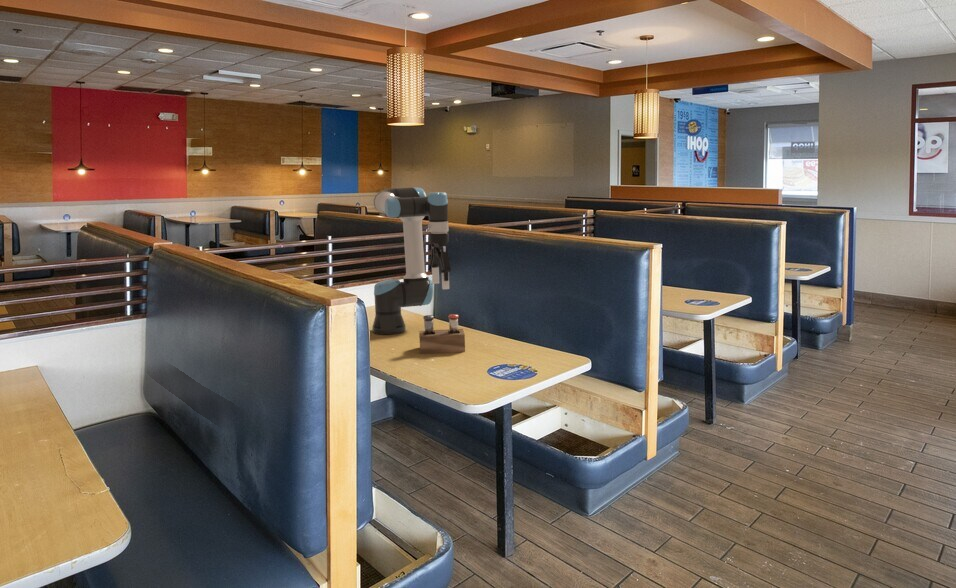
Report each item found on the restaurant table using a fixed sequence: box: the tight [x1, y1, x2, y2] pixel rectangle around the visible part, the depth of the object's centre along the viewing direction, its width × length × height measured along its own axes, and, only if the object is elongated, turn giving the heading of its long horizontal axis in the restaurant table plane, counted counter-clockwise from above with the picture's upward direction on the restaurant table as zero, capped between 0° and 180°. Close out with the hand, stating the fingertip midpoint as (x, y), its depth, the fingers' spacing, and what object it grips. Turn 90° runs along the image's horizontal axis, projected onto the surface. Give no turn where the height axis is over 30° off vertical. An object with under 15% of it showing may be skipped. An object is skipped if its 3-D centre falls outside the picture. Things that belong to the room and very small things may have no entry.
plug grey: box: [423, 314, 435, 335], centre depth 263 cm, size 4×4×8 cm
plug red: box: [447, 313, 459, 334], centre depth 264 cm, size 4×4×8 cm
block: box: [418, 328, 466, 355], centre depth 265 cm, size 10×18×7 cm, turn 95°
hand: (440, 286), depth 257 cm, fingers open, 13 cm apart
